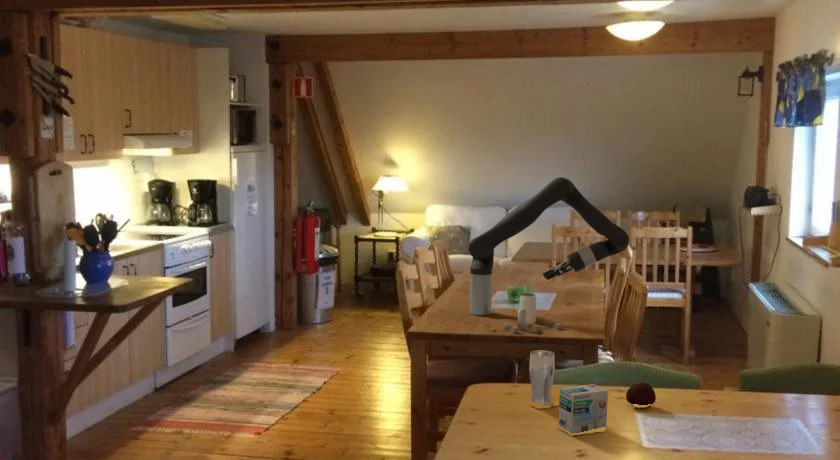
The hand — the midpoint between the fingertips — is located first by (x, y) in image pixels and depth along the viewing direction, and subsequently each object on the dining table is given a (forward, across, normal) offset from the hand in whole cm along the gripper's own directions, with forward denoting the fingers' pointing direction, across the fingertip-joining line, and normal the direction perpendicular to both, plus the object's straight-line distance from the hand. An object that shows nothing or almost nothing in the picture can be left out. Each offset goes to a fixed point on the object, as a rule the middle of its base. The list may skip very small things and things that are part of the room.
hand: (544, 276), depth 333 cm
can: (+14, -6, +15) cm, 21 cm away
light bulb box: (+16, +120, +26) cm, 123 cm away
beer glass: (+23, +100, +20) cm, 105 cm away
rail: (+14, +8, +16) cm, 23 cm away
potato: (-2, +100, +33) cm, 106 cm away
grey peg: (+18, +10, +13) cm, 24 cm away
